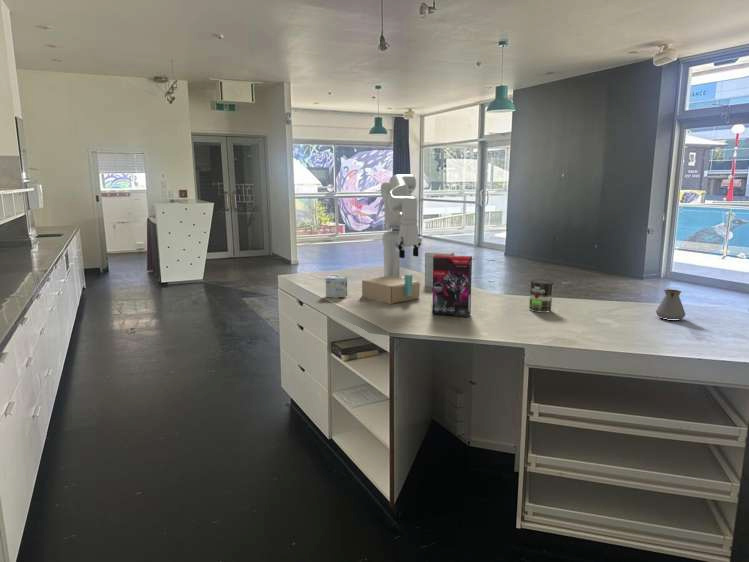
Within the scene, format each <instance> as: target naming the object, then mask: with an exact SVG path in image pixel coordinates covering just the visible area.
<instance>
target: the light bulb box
mask: <svg viewBox="0 0 749 562" xmlns="http://www.w3.org/2000/svg"><path fill="white" fill-rule="evenodd" d="M346 296H348V276H346V275H345V276H343V275H340V276H339V275H327V276H326V277H325V298H326V297H346ZM346 298H347V297H346Z"/></svg>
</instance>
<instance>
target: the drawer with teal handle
mask: <svg viewBox="0 0 749 562" xmlns="http://www.w3.org/2000/svg"><path fill="white" fill-rule="evenodd" d="M404 277H405V285H401V286H396V287H392V302H397V301H402V300H407V299H412V298H416V297H418V298H419V297H420V289H421V288H420V287H421V286H420V284H421V282H418V283H412V280H413V274H411V273H409V274H408V273H407V274H404ZM412 300H413V299H412Z"/></svg>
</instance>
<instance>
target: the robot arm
mask: <svg viewBox="0 0 749 562" xmlns="http://www.w3.org/2000/svg"><path fill="white" fill-rule="evenodd" d="M416 186H417V179H416V177H415V176H414V175H413V174H393V175H392V176H391V177H390V178H389V180H388V181H385V182H382V183H381V186H380V195H381V198H382V201H383V204H384V206H383V207H384V226H385V227H386V229H391V230H388V231H386V232H384V233H383V234H382V236H381V237H382V246H383V277H384V276H394V277H399V278H404V279H405V276H401V259H405V257H406V256H405V255H406V254H405V253H406V252H405V251H406V250H405V248H410V247H411V246H413V248H412V256H413V257H419V249H420V247H421V246H422V245H421V244H422V242H423V239H422V238H420V236H419V227H418V199H417V197H414V196H411V195H412V194H413V193H414V191H415V189H416ZM394 229H395V230H394ZM397 229H398V230H397Z"/></svg>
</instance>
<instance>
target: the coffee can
mask: <svg viewBox="0 0 749 562" xmlns="http://www.w3.org/2000/svg"><path fill="white" fill-rule="evenodd" d="M529 294H530V295H529V306H528V310H529V309H530V310H533V311H539V312H547V311H551V312H552V306H553V294H554V281H552V280H549V279H542V278H541V279H531V280H530V292H529ZM530 310H529V311H530ZM533 311H532V312H533Z"/></svg>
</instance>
